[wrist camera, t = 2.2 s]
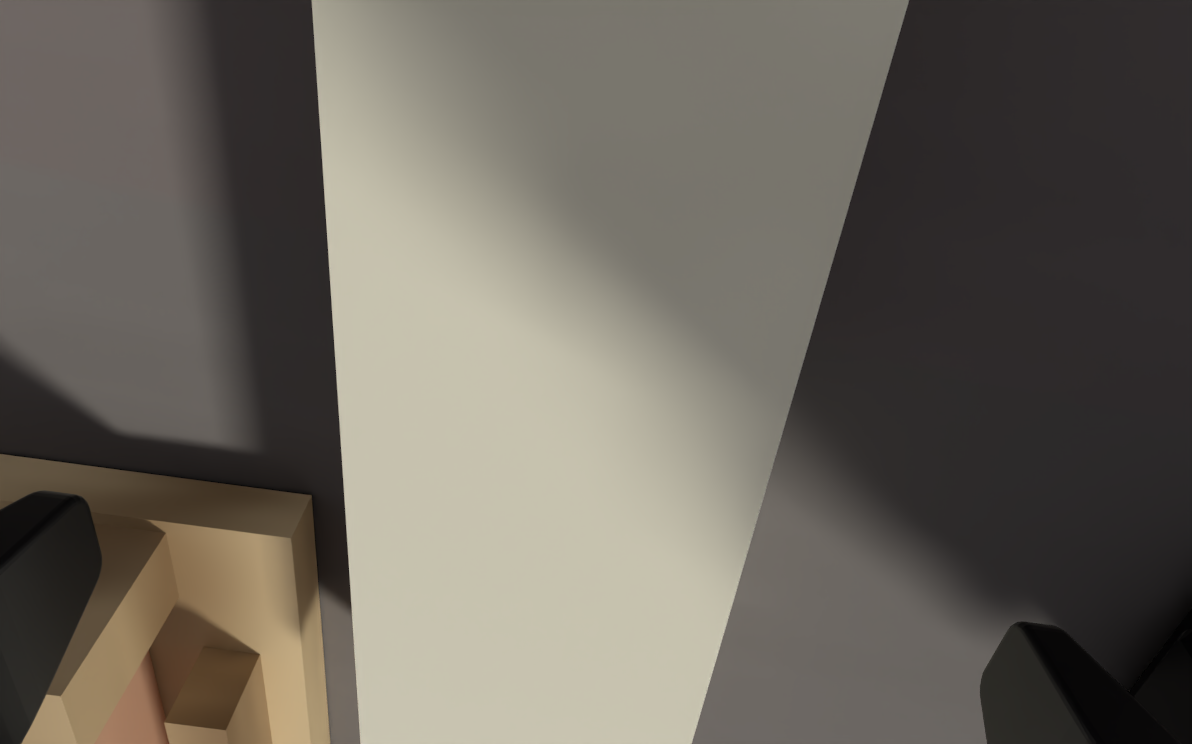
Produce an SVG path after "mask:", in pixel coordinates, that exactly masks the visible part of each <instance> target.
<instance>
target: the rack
mask: <svg viewBox="0 0 1192 744" xmlns="http://www.w3.org/2000/svg"><path fill="white" fill-rule="evenodd" d="M43 490H45V491H54V492H61V493H68V494H76V495H79V496H82V497H83V498H84V499H85V500H86V501H87V502H88V505H89V508H90V511H91V515H92V519H93V522H94V526H95V530H96V534H97V537H98V541H99V545H100V549H101V552H102V568H101V573H100V576H99V579H98V582H97V584H96V586H95V588H94V591H93V593H92V595H91V597H90V599H89V602H88V604H87V606H86V608H85V610H84V613H83V615H82V617H81V619H80V621H79V624H78V626H77V628H76V630H75V633H74V635H73V637H72V639H71V641H70V644H69V646H68V648H67V650H66V652H65V655H64V657H63V659H62V661H61V663H60V666H59V668H58V670H57V672H56V674H55V677H54V679H53V681H52V683H51V685H50V688H49V690H48V692H47V694H46V696H45V699H44V701H43V703H42V705H41V707H40V709H39V711H38V713H37V715H36V717H35V719H34V721H33V723H32V725H31V727H30V729H29V731H28V733H27V734H26V736H25V738H24V740H23V742H22V743H21V744H94V743H95V742H96V740H97V738H98V736H99V735H100V733H101V731H102V730H103V728H104V726H105V724H106V723H107V721H108V719H109V717H110V716H111V714H112V712H113V710H114V709H115V707H116V705H117V704H118V702H119V700H120V698H121V697H122V695H123V693H124V691H125V690H126V688H127V686H128V685H129V683H130V681H131V679H132V678H133V676H134V674H135V672H136V671H137V669H138V667H139V666H140V664H141V662H142V660H143V659H144V657H145V655H146V653H147V652H148V650H149V653H150V657H151V661H152V665H153V669H154V673H155V677H156V681H157V685H158V689H159V693H160V697H161V701H162V705H163V709H164V713H165V717H166V720H165V722H164V724H165V728H166V732H167V736H168V740H169V744H330V733H329V720H328V707H327V694H326V680H325V667H324V654H323V640H322V627H321V614H320V600H319V587H318V574H317V561H316V547H315V534H314V521H313V507H312V495H305V494H297V493H290V492H282V491H275V490H267V489H260V488H252V487H245V486H237V485H230V484H222V483H215V482H207V481H199V480H192V479H184V478H177V477H169V476H162V475H154V474H147V473H139V472H132V471H124V470H117V469H109V468H102V467H94V466H87V465H79V464H72V463H64V462H57V461H49V460H42V459H34V458H27V457H19V456H12V455H4V454H0V509H2V508H4V507H6V506H7V505H9V504H11V503H13V502H15V501H17V500H19V499H21V498H22V497H24V496H26V495H28V494H31V493H33V492H36V491H43Z"/></svg>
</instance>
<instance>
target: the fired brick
mask: <svg viewBox="0 0 1192 744" xmlns="http://www.w3.org/2000/svg"><path fill="white" fill-rule="evenodd" d="M165 720H166V717H165V713H164V709H163V705H162V701H161V697H160V693H159V689H158V685H157V681H156V677H155V673H154V669H153V665H152V661H151V657H150V653H149V650H148V652H147V653H146V655H145V657H144V659H143V660H142V662H141V664H140V666H139V667H138V669H137V671H136V672H135V674H134V676H133V678H132V679H131V681H130V683H129V685H128V686H127V688H126V690H125V691H124V693H123V695H122V697H121V698H120V700H119V702H118V704H117V705H116V707H115V709H114V710H113V712H112V714H111V716H110V717H109V719H108V721H107V723H106V724H105V726H104V728H103V730H102V731H101V733H100V735H99V736H98V738H97V740H96V742H95V743H94V744H169V740H168V736H167V732H166V728H165V724H164V722H165Z"/></svg>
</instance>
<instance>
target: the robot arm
mask: <svg viewBox="0 0 1192 744" xmlns="http://www.w3.org/2000/svg"><path fill="white" fill-rule="evenodd" d="M101 568H102V552H101V549H100V545H99V541H98V537H97V534H96V530H95V526H94V522H93V519H92V515H91V511H90V508H89V505H88V502H87V501H86V500H85V499H84V498H83V497H82V496H79V495H76V494H68V493H61V492H54V491H45V490H43V491H36V492H33V493H31V494H28V495H26V496H24V497H22V498H21V499H19V500H17V501H15V502H13V503H11V504H9V505H7V506H6V507H4V508H2V509H0V744H21V743H22V742H23V740H24V738H25V736H26V734H27V733H28V731H29V729H30V727H31V725H32V723H33V721H34V719H35V717H36V715H37V713H38V711H39V709H40V707H41V705H42V703H43V701H44V699H45V696H46V694H47V692H48V690H49V688H50V685H51V683H52V681H53V679H54V677H55V674H56V672H57V670H58V668H59V666H60V663H61V661H62V659H63V657H64V655H65V652H66V650H67V648H68V646H69V644H70V641H71V639H72V637H73V635H74V633H75V630H76V628H77V626H78V624H79V621H80V619H81V617H82V615H83V613H84V610H85V608H86V606H87V604H88V602H89V599H90V597H91V595H92V593H93V591H94V588H95V586H96V584H97V582H98V579H99V576H100V573H101ZM980 698H981V705H982V712H983V719H984V726H985V732H986V739H987V744H1192V609H1191V611H1190V612H1189V613H1188V615H1187V616H1186V617H1185V619H1184V620H1183V621H1182V623H1181V624H1180V625H1179V627H1178V628H1177V629H1176V631H1175V632H1174V633H1173V635H1172V636H1171V637H1170V639H1169V640H1168V641H1167V643H1166V644H1165V645H1164V647H1163V648H1162V649H1161V651H1160V652H1159V653H1158V655H1157V656H1156V657H1155V659H1154V660H1153V661H1152V663H1151V664H1150V665H1149V667H1148V668H1147V669H1146V671H1145V672H1144V673H1143V675H1142V676H1141V677H1140V679H1139V680H1138V681H1137V683H1136V684H1135V685H1134V687H1133V688H1132V689H1131V691H1130V692H1129V693H1128V692H1127V691H1126V690H1125V689H1124V688H1123V687H1122V686H1121V685H1120V684H1119V683H1118V682H1117V681H1116V680H1115V679H1114V678H1113V677H1112V676H1111V675H1110V674H1109V673H1108V672H1107V671H1106V670H1105V669H1104V668H1103V667H1102V666H1101V665H1099V664H1098V663H1097V662H1096V661H1095V660H1094V659H1093V658H1092V657H1091V656H1090V655H1089V654H1088V653H1087V652H1086V651H1085V650H1084V649H1083V648H1082V647H1081V646H1080V645H1079V644H1078V643H1077V642H1076V641H1075V640H1074V639H1073V638H1072V637H1071V636H1070V635H1068V634H1067V633H1066V632H1065V631H1064V630H1062V629H1060V628H1058V627H1056V626H1052V625H1045V624H1037V623H1030V622H1017V623H1015V624H1013V625H1012V626H1011V627H1010V628H1009V629H1008V631H1007V632H1006V634H1005V636H1004V637H1003V639H1002V641H1001V643H1000V644H999V646H998V648H997V649H996V651H995V653H994V655H993V656H992V658H991V660H990V661H989V663H988V665H987V667H986V668H985V670H984V672H983V675H982V679H981V684H980Z"/></svg>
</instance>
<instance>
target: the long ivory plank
mask: <svg viewBox="0 0 1192 744" xmlns="http://www.w3.org/2000/svg"><path fill="white" fill-rule="evenodd" d="M908 2H909V0H312V13H313V28H314V43H315V58H316V73H317V88H318V104H319V119H320V134H321V149H322V164H323V180H324V195H325V210H326V225H327V240H328V256H329V271H330V286H331V301H332V316H333V332H334V347H335V362H336V377H337V392H338V408H339V423H340V438H341V453H342V468H343V484H344V499H345V514H346V529H347V544H348V559H349V575H350V590H351V605H352V620H353V635H354V651H355V666H356V681H357V696H358V711H359V727H360V742H361V744H692V740H693V737H694V733H695V730H696V727H697V723H698V720H699V716H700V713H701V710H702V706H703V703H704V699H705V696H706V692H707V689H708V686H709V682H710V679H711V675H712V672H713V669H714V665H715V662H716V658H717V655H718V652H719V648H720V645H721V641H722V638H723V634H724V631H725V628H726V624H727V621H728V617H729V614H730V611H731V607H732V604H733V600H734V597H735V593H736V590H737V587H738V583H739V580H740V576H741V573H742V570H743V566H744V563H745V559H746V556H747V552H748V549H749V546H750V542H751V539H752V535H753V532H754V529H755V525H756V522H757V518H758V515H759V511H760V508H761V505H762V501H763V498H764V494H765V491H766V488H767V484H768V481H769V477H770V474H771V470H772V467H773V464H774V460H775V457H776V453H777V450H778V447H779V443H780V440H781V436H782V433H783V429H784V426H785V423H786V419H787V416H788V412H789V409H790V406H791V402H792V399H793V395H794V392H795V388H796V385H797V382H798V378H799V375H800V371H801V368H802V365H803V361H804V358H805V354H806V351H807V347H808V344H809V341H810V337H811V334H812V330H813V327H814V324H815V320H816V317H817V313H818V310H819V306H820V303H821V300H822V296H823V293H824V289H825V286H826V283H827V279H828V276H829V272H830V269H831V266H832V262H833V259H834V255H835V252H836V248H837V245H838V242H839V238H840V235H841V231H842V228H843V225H844V221H845V218H846V214H847V211H848V207H849V204H850V201H851V197H852V194H853V190H854V187H855V184H856V180H857V177H858V173H859V170H860V166H861V163H862V160H863V156H864V153H865V149H866V146H867V143H868V139H869V136H870V132H871V129H872V125H873V122H874V119H875V115H876V112H877V108H878V105H879V102H880V98H881V95H882V91H883V88H884V84H885V81H886V78H887V74H888V71H889V67H890V64H891V61H892V57H893V54H894V50H895V47H896V43H897V40H898V37H899V33H900V30H901V26H902V23H903V20H904V16H905V13H906V9H907V6H908Z"/></svg>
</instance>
